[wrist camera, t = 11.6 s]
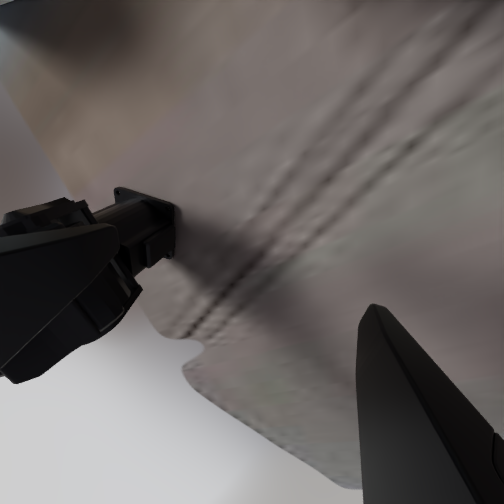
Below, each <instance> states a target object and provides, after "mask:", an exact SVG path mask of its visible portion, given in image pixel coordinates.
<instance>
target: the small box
mask: <svg viewBox="0 0 504 504" xmlns="http://www.w3.org/2000/svg"><path fill="white" fill-rule="evenodd" d="M11 1H14V0H0V5H3V4H5V3H8V2H11Z"/></svg>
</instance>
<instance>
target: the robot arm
mask: <svg viewBox="0 0 504 504" xmlns="http://www.w3.org/2000/svg"><path fill="white" fill-rule="evenodd" d="M119 192H120V193H119ZM114 196H115V204H113V205H110V206H108V207H106V208H103V209H101V210H99V211H96V212H94V213H91V211H90V210H89V208H88V207H87V206H88V204H87V203H86V201H85V200H82V201H79V202H76V203H75V202H74V200H72V201H70V200H68V199H66V198H65V197H63V198H60V199H57V200H54V201H51V202H48V203H44V204H41V205H36V206H32V207H28V208H23V209H19V210H15V211H12V212H9V213H6V214H4V216H3V219H2V222H1V225H0V377H2V376H5V377H7V378H8V379H9V380H10V381H11V382H12V383H13V384H19V383H22V382H25V381H28V380H30V379H33V378H36V377H39V376H40V375H42V374H44V373H45V372H46V371H47V370H49V369H50V368H51V367H52V366H54V365H55V364H56V363H58V362H59V361H60V360H61V359H63V358H64V357H65V356H67V355H68V354H69V353H71V352H72V351H74V350H75V349H77V348H79V347H80V346H81V345H85V344H88V343H91V342H93V341H95V340H97V339H99V338H100V337H102V336H104V335H105V334H107V333H108V332H109V331H111V330H112V329H113V328H114V327H115V326H116V325H117V324H118V323H119V322H120V321H121V320H122V319H123V317H124V316H125V314H126V313H127V312H128V310H129V309H130V307H131V306H132V304H133V303H134V302H135V300H136V299H137V298H138V296H139V295H140V293H141V292H142V290H143V289H142V287H141V286H140V284H138V283H137V281H136V280H135V278H134V277H135V276H136V275H137V274H139V273H140V272H141V271H142V270H143V269H145V268H151V267H152V266H153V265H155V264H156V263H157V262H158V261H159V260H160V259H162V258H163V257H164V258H166V259H171V258H173V257H174V248H175V226H174V206H173V205H172V204H171V203H169V202H166V201H163V200H160V199H157V198H153V197H150V196H147V195H144V194H141V193H138V192H135V191H132V190H129V189H125V188H122V187H117V188H115V189H114ZM167 207H169V209H170V210H169V209H168V208H167ZM356 392H357V408H358V424H359V440H360V456H361V471H362V487H363V503H364V504H504V440H503V439H502V437H501V436H500V435H499V434H498V433H495V432H494V429H493V427H492V426H491V425H490V424H489V423H488V422H487V421H486V420H485V418H484V417H483V416H482V415H481V414H480V413H479V412H478V411H477V409H476V408H475V407H474V406H473V405H472V404H471V403H470V401H469V400H468V399H467V398H466V397H465V396H464V395H463V394H462V392H461V391H460V390H459V389H458V388H457V387H456V386H455V385H454V383H453V382H452V381H451V380H450V379H449V378H448V377H447V376H446V374H445V373H444V372H443V371H442V370H441V369H440V368H439V366H438V365H437V364H436V363H435V362H434V361H433V360H432V359H431V357H430V356H429V355H428V354H427V353H426V352H425V351H424V350H423V348H422V347H421V346H420V345H419V344H418V343H417V342H416V340H415V339H414V338H413V337H412V336H411V335H410V334H409V333H408V331H407V330H406V329H405V328H404V327H403V326H402V325H401V324H400V322H399V321H398V320H397V319H396V318H395V317H394V316H393V314H392V313H391V312H390V311H389V310H388V309H387V308H386V307H384V306H380V305H377V304H370V305H369V307H368V308H367V310H366V312H365V314H364V315H363V317H362V319H361V320H360V323H359V326H358V339H357V357H356Z"/></svg>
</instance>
